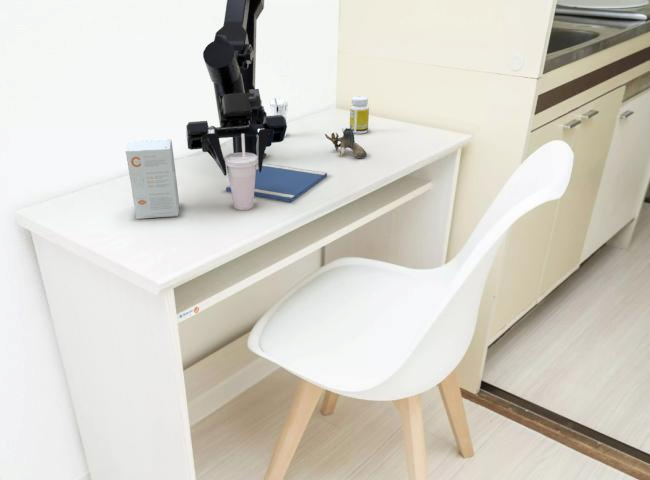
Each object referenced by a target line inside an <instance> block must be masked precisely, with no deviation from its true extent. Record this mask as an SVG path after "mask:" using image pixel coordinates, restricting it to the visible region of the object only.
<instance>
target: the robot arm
mask: <svg viewBox="0 0 650 480" xmlns="http://www.w3.org/2000/svg"><path fill="white" fill-rule="evenodd" d="M264 9H265V0H226V6H225V12H224V14H225V15H224V19H223V25H222V27H221V28H220V29H218V30H217V31H215V35H214V39H213V41H211V42H210V43H208V44H207V46H206V47H205V48H204V50H203V51H202V58H203V61H204V64H205V66H206V69H207V72H208V75H209V77H210V81H211V82H212V83H213V89H214V96H215V101H216V102H215V103H216V109H217V115H218V122H219V126H217V127H216V126H215V125H209V123H208V120H200V121H188V122H187V124H186V127H185V128H186V129H185V130H186V131H185V133H186V144H187V149H188V150H192V151H193V150H201V151H202V152H203V153H208V155H209V156H210V157H211V158H212V159H213V160H214V162H215V164H216V165H217V167H218V168H219V169H220V171H221V173H222V174H223V176H226V177H227V176H228V171H227V166H226V165H225V161H224V158H225V156H224V153H223V151H222V150H223V149H222V147H221V142H220V139H228V138H232V150H233V151H232V152H233V153H239V152H242V138H241V134H242V133H244V138H245V152H247V153H253V154H255V155H257V156H258V163H257V164H256V167H257V169H258V170H259V173H260V172H261V170H262V165H264V158H265V157H266V156H267V153H266V148H269V147H271V146H272V144H274V143H275V144H277V143H281V142H283V141H284V139H285V137H286V136H285V132H286V133H287V128H288V123H287V124H286V119H285V118H284V117H283V116H282V115H274V116H271V115H268V114H267V112H266V110H265V107H264V105H263V101H262V99H261V93H260V89H259V88H256V65H257V63H256V61H257V60H256V59H257V22H258V21H257V20H258V19H259V17H260V15H261V14H262V12H263V10H264ZM284 136H285V137H284Z"/></svg>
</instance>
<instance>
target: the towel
mask: <svg viewBox="0 0 650 480" xmlns="http://www.w3.org/2000/svg"><path fill="white" fill-rule="evenodd" d="M326 177H328V172H325V171H318V170H312V169H311V170H310V169H303V168H298V167H290V166H284V165H277V164H272V163H271V164H270V163H263V164H262V170H261V172H260V173H259V170H258V168H256V177H255V190H254V197H256V198H262V199H267V200H273V201H279V202H285V203H290V204H291V203H293V202H294V201H295V200H296V199H297V198H299V197H300V196H302V195H303V194H305V193H306V192H308V191H309V190H310V189H311V188H313V187H314V186H316V185H317V184H318V183H320V182H321V181H322V180H325V178H326ZM225 192H228V193H232V192H231V187H230V184H229V185H227V186H226V187H225Z"/></svg>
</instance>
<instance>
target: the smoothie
mask: <svg viewBox="0 0 650 480" xmlns="http://www.w3.org/2000/svg"><path fill="white" fill-rule="evenodd" d="M241 138H242V152H239V153H229V154H227V155H226V156H224V161H225V165H226V171H227V176H228V181H229V185H230V187H231V192H230V193H231V197H232V202H233V207H234V208H235V209H236V210H239V211H245V210H250V209H252V208H254V201H255V196H254V190H255V177H256V170H257V163H258V156H257V155H255V154H253V153H247V152H245V138H244V133H242V134H241Z"/></svg>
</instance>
